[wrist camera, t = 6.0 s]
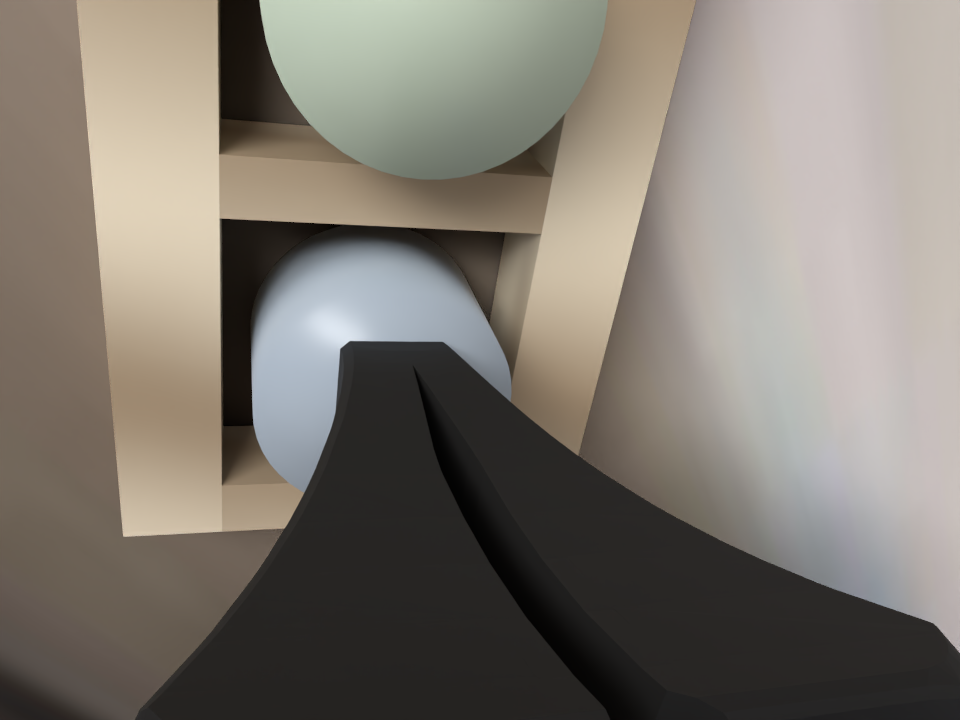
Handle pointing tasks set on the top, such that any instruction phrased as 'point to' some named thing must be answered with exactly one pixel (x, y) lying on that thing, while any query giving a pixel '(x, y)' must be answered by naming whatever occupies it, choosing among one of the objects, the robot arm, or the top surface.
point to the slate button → (351, 329)
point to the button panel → (335, 200)
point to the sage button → (433, 75)
